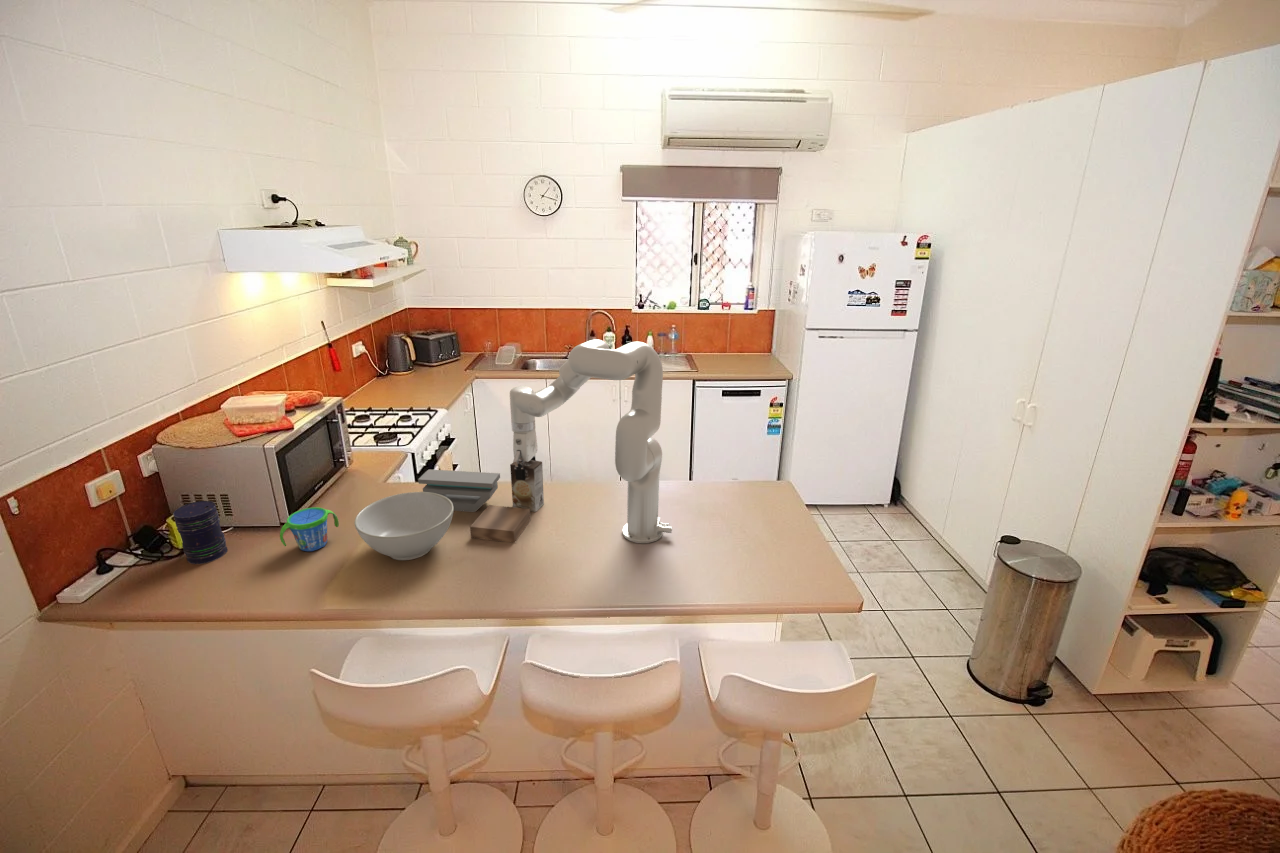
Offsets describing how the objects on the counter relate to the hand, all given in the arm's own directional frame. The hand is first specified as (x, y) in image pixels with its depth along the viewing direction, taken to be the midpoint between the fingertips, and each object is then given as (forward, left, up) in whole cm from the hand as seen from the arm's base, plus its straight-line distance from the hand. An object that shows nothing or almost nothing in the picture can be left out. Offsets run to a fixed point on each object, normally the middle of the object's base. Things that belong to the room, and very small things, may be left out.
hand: (526, 473), depth 197 cm
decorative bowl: (+25, +32, -12) cm, 42 cm away
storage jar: (+80, +46, -12) cm, 93 cm away
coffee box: (0, 0, -12) cm, 12 cm away
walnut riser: (+3, +16, -12) cm, 20 cm away
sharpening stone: (+22, +4, -13) cm, 25 cm away
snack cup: (+54, +36, -12) cm, 66 cm away
